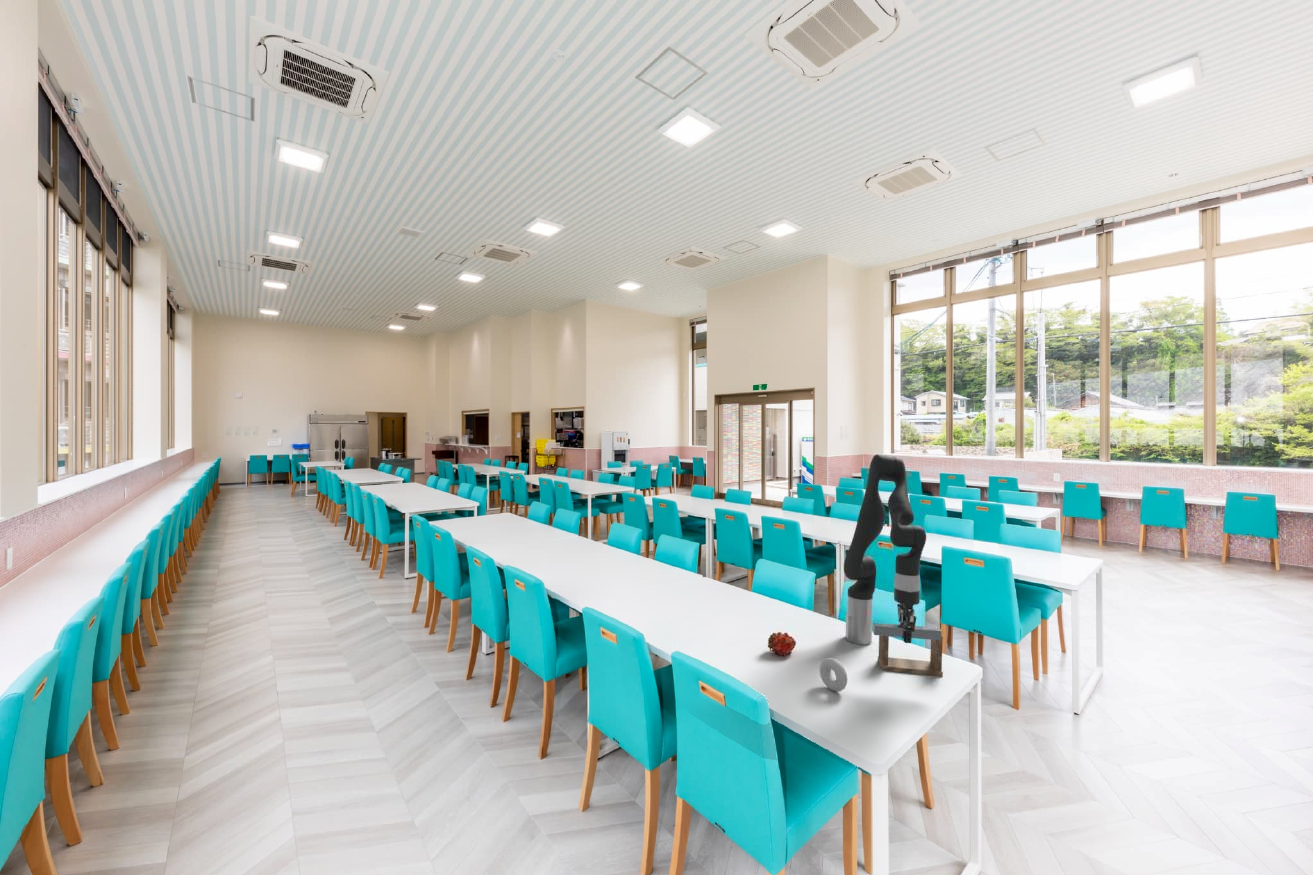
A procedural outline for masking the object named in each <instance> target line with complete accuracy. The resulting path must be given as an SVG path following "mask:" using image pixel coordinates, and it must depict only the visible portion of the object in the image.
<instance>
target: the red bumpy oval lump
mask: <svg viewBox="0 0 1313 875" xmlns="http://www.w3.org/2000/svg"><path fill="white" fill-rule="evenodd" d="M796 645H797V641H796V640H795V638H794V637H793V636H791V635H789V634H788V632H784V633H782V631H779V632H778V631H777V633H776V632H773V633H772V634H770V635H769V637H768V640H767V648H768V649H769V652H771V653H774V654H775V655H780V656H783V657H784V656H786V655H791V654H792V653H793V650H794V649H795V648H796Z"/></svg>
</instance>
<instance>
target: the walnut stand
mask: <svg viewBox="0 0 1313 875" xmlns="http://www.w3.org/2000/svg"><path fill="white" fill-rule="evenodd" d="M943 638H944V637H943V635H941V640H930V656H929V657H930V658H929V660H919V659H909V658H899V657H889V644H890V642H889V640H890V636H880V635H878V656H877V662H878V664H879V666H880V668H881V670H882V671H886V672H894V673H895V672H897V673H905V674H906V673H907V674H915V675H925V676H934V677H943V676H944V675H943V674H944V671H943V670H942V669H943V667H942V666H943Z"/></svg>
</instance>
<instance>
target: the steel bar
mask: <svg viewBox="0 0 1313 875" xmlns="http://www.w3.org/2000/svg"><path fill="white" fill-rule="evenodd" d="M908 627H910V626H908ZM903 628H904V627H903V625H900V624H898V623H897V624H894V623H882V622H872V634H873V635H874V636H879V635H880V636H889V637H894V638H901V637H904V630H903ZM942 631H943V630H941V629H940V628H939V627H933V626H920V625H915V629H914V632H912V637H911V639H918V640H930V641H931V640H941V636H942Z"/></svg>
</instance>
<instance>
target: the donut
mask: <svg viewBox="0 0 1313 875" xmlns="http://www.w3.org/2000/svg"><path fill="white" fill-rule="evenodd" d="M831 670H832V671H833V673H834V675H835V678H834V677H833V675H832V672H831ZM819 675H820V678H821V681H822V682H823V684H824V685H825V686H826V688H828V689H829V690H830V691H832V692H836V693H837V692H842V691H844V690H845V689H846V687H847V684H848V675H847V671H846V669H845V667H844V665H843V664H842V663H841V662H840V661H839V660H838V659H836V658H832V657H827V658H824V659H823V660H821V664H820V665H819Z"/></svg>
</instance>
